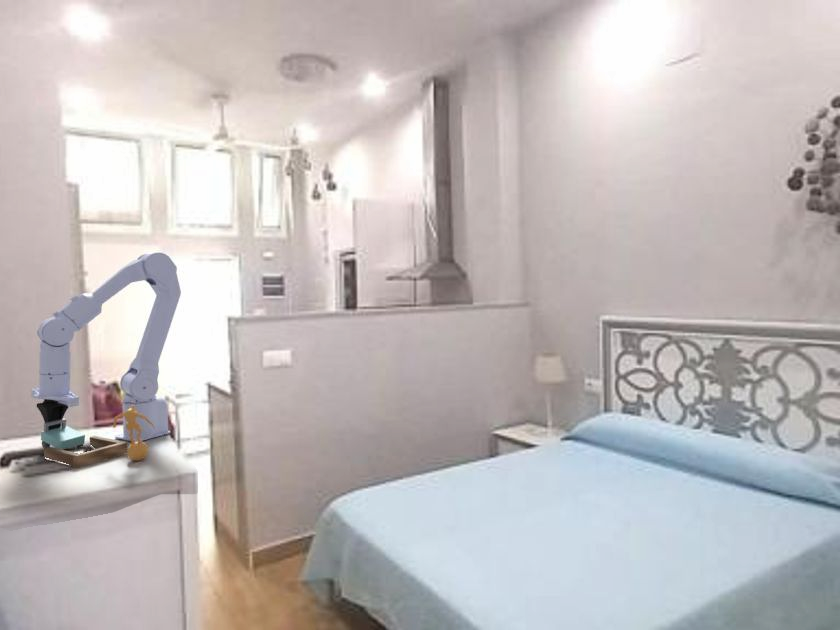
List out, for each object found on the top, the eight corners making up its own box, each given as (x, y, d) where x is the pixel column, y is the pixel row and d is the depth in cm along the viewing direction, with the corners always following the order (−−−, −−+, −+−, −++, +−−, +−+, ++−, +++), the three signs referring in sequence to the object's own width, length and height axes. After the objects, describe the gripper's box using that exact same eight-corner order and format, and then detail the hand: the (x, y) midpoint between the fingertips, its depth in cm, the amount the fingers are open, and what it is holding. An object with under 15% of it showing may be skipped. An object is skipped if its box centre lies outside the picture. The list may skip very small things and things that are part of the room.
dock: (95, 446, 130) (94, 435, 130) (127, 453, 124) (127, 442, 124) (44, 459, 120) (43, 448, 120) (77, 467, 115) (76, 456, 115)
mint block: (64, 440, 130) (65, 417, 129) (83, 450, 127) (85, 427, 126) (40, 446, 125) (41, 423, 124) (60, 457, 122) (61, 433, 121)
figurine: (162, 457, 122) (160, 401, 121) (149, 466, 116) (147, 407, 115) (122, 457, 122) (121, 401, 121) (107, 466, 116) (105, 407, 115)
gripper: (16, 371, 126) (16, 432, 127) (55, 379, 119) (54, 444, 120) (50, 367, 132) (49, 425, 133) (88, 375, 125) (87, 436, 126)
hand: (54, 434), depth 127 cm, fingers closed, pressing on mint block
